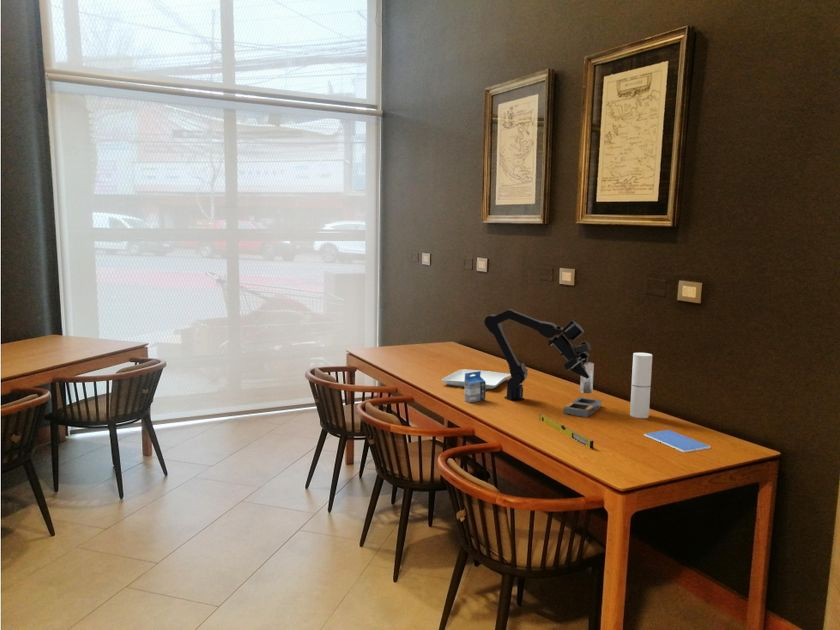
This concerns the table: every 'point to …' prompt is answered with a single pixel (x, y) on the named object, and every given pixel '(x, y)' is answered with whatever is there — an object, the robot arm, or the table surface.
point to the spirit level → (567, 431)
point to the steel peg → (585, 383)
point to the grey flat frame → (582, 407)
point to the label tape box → (474, 387)
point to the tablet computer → (677, 441)
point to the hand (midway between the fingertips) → (590, 376)
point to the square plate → (488, 376)
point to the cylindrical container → (641, 385)
